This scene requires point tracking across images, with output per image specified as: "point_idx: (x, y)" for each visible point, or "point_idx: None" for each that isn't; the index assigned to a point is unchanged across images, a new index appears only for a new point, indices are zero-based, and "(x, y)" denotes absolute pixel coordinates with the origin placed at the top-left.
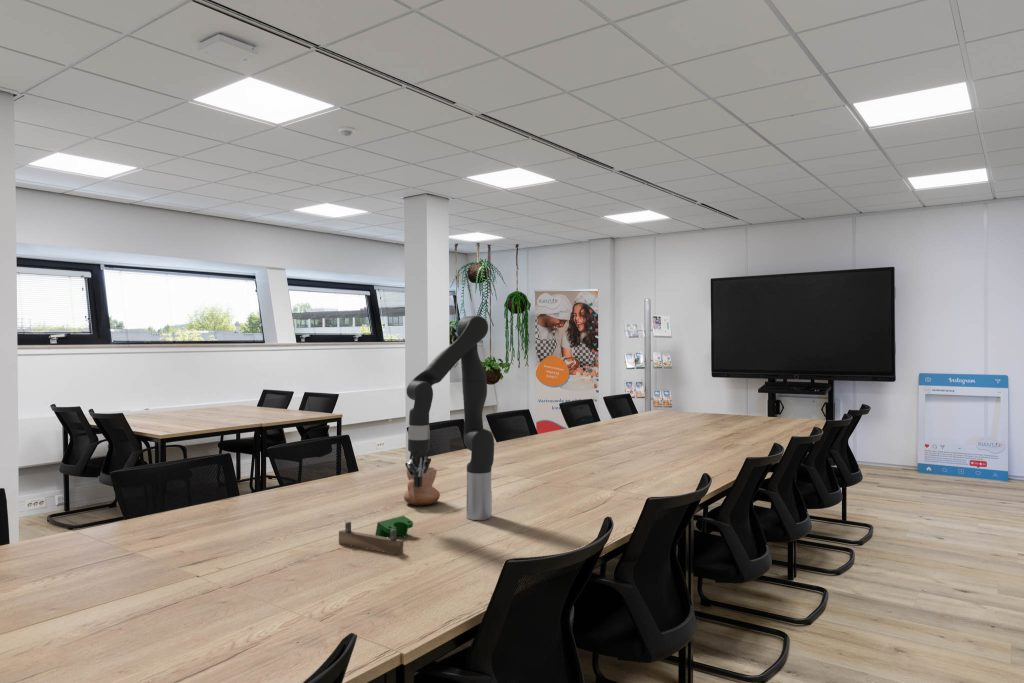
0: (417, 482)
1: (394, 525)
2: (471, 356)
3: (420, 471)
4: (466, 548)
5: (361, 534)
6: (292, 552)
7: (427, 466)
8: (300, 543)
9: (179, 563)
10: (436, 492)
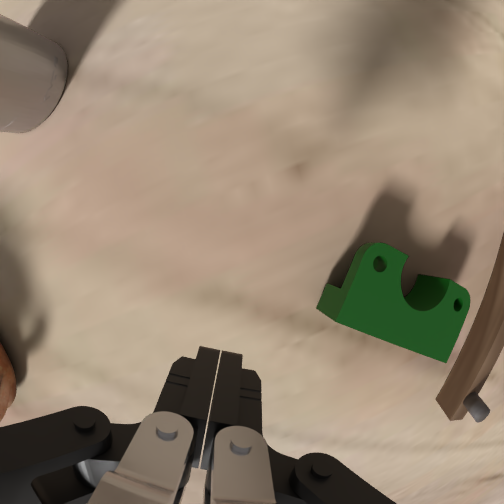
0: (260, 395)
1: (413, 308)
2: None
3: (217, 481)
4: (424, 3)
5: (496, 352)
6: (485, 428)
7: (5, 449)
8: (435, 456)
9: (491, 485)
10: None
